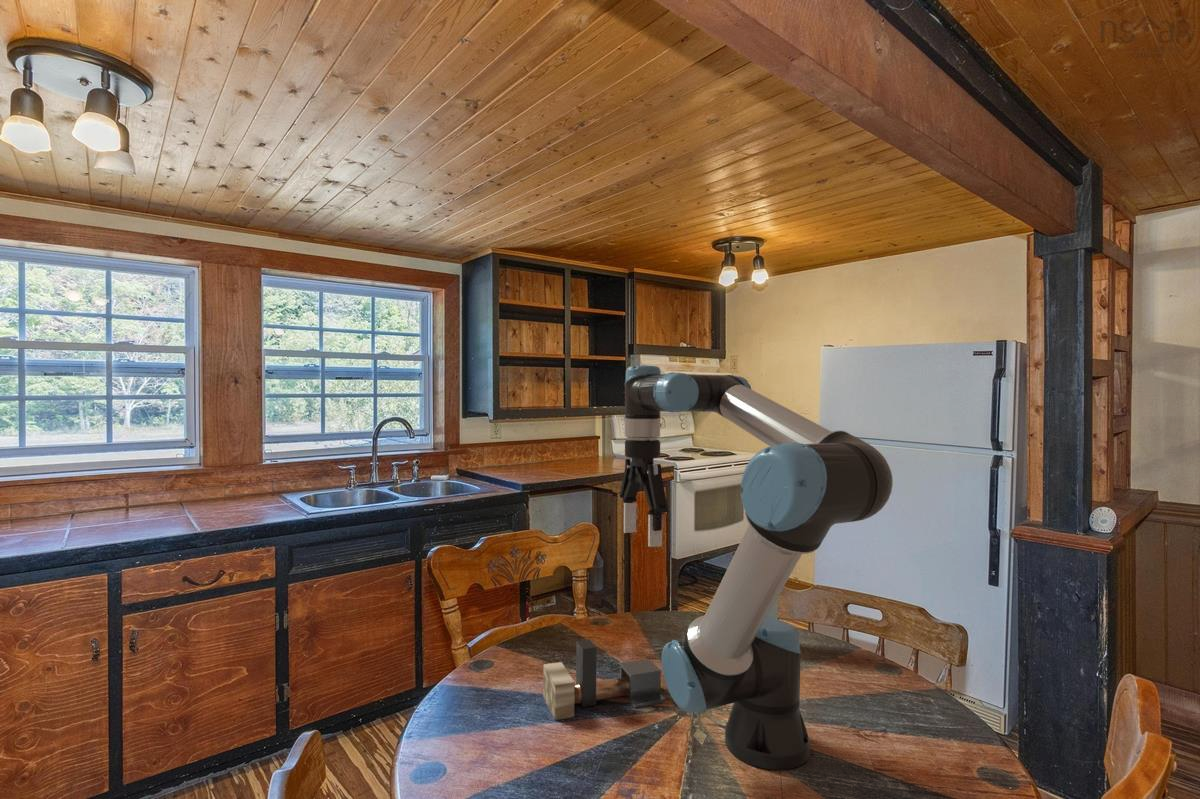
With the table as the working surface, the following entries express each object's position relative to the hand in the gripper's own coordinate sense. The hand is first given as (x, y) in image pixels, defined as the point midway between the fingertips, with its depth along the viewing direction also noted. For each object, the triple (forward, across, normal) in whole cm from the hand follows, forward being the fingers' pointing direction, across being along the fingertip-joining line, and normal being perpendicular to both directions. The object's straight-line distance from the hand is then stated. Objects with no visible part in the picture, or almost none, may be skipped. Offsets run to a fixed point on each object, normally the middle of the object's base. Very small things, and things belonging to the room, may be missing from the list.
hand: (641, 539), depth 127 cm
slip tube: (+35, +4, +8) cm, 36 cm away
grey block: (+35, +4, -2) cm, 35 cm away
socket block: (+35, +4, +17) cm, 39 cm away
